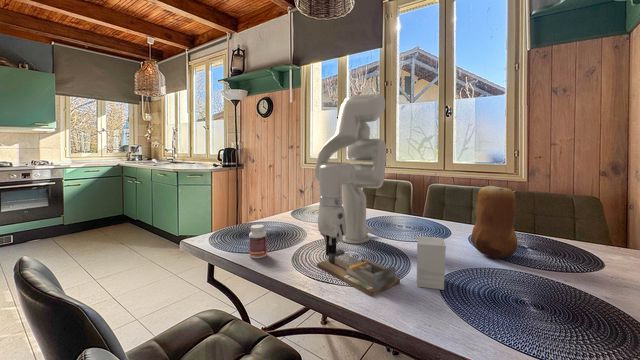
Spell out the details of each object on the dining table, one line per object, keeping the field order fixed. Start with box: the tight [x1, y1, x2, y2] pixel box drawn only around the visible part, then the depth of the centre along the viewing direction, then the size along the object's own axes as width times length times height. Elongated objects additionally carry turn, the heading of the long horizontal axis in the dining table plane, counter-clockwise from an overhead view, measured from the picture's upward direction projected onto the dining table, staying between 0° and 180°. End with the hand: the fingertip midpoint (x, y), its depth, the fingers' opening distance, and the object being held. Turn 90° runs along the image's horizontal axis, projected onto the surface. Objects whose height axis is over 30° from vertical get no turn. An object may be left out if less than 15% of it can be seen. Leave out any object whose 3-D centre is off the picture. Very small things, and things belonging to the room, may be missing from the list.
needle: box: [349, 262, 372, 273], centre depth 87 cm, size 8×2×4 cm, turn 127°
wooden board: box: [316, 258, 401, 297], centre depth 91 cm, size 12×24×5 cm, turn 37°
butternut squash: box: [470, 185, 518, 260], centre depth 103 cm, size 14×13×25 cm
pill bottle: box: [248, 224, 268, 259], centre depth 107 cm, size 6×6×11 cm
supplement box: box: [416, 235, 447, 291], centre depth 85 cm, size 7×7×13 cm
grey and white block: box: [328, 249, 362, 269], centre depth 94 cm, size 5×13×3 cm, turn 37°
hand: (331, 254), depth 101 cm, fingers closed
